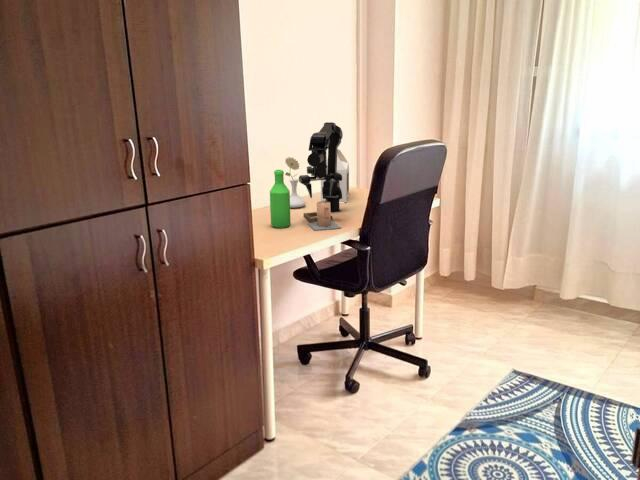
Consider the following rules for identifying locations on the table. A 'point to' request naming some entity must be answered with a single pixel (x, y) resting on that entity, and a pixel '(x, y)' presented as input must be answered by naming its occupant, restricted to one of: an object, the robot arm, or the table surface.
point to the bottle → (280, 202)
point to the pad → (318, 228)
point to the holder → (313, 214)
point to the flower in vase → (294, 184)
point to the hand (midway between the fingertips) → (320, 196)
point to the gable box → (344, 171)
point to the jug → (323, 214)
